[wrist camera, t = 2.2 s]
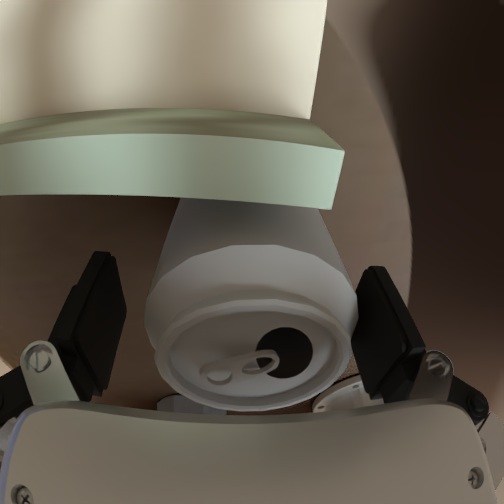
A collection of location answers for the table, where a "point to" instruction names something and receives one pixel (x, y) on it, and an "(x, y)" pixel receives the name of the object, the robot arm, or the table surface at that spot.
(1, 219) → the table surface
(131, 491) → the robot arm
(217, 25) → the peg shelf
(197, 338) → the can
